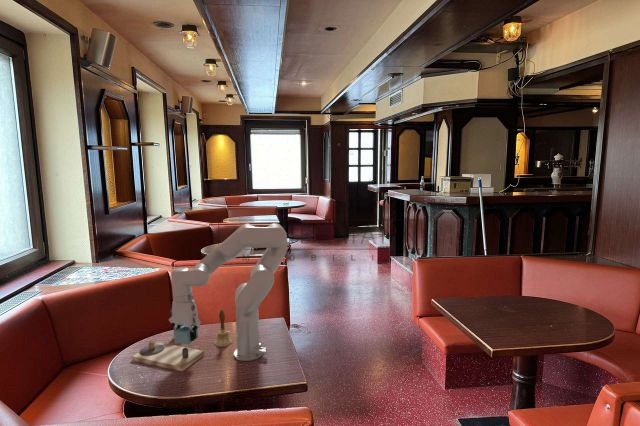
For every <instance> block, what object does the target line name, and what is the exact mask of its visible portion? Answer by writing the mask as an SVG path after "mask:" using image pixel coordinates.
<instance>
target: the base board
mask: <svg viewBox="0 0 640 426" xmlns="http://www.w3.org/2000/svg"><path fill="white" fill-rule="evenodd" d="M203 356H205V351H204V350H201V349H196V348H191V347H187V346H180V345H175V344H170V343H164V342H159V341H155V342H154V341H152V340H151V341H149V343H148V345H146V346H144V347H142V348H141V349H140V350H139V352H136V353H135V354H134V355H132V356H131V361H133V362H137V363H141V364H146V365H150V366H151V365H152V366H157V367H160V368H165V369H169V370H173V371H179V372H183V371H185V370H186V369H187V368H189V367H190V366H192V365H193V364H194V363H196V362H197V361H198V360H200V359H201V358H202V357H203Z"/></svg>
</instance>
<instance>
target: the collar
mask: <svg viewBox="0 0 640 426" xmlns="http://www.w3.org/2000/svg"><path fill="white" fill-rule="evenodd" d="M192 327H193V325H192ZM190 332H191V331H190V328H189V326H186V325H183V326H182V327H180V328H178V329H177V330H175V331H174V330H173V337H174V340H173V341H174V344H181V345H189V344H190V343H191V344H192V343H193V342H194V341H195V340H198V338H199V334H198V329H197V330H196V336H197V338H196V339H195V340H193V341H191V340H190Z"/></svg>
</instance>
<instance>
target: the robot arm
mask: <svg viewBox="0 0 640 426" xmlns="http://www.w3.org/2000/svg"><path fill="white" fill-rule="evenodd" d="M287 238H288V234H287V232H286V230H285V229H284V227H283V226H282V225H281V224H279V223H275V222H274V223H270V224H269V225H268V226H265V227H264V226H262V227H261V226H254V224H251V223H244V224H242V225H241V226H239V227H238V228H237V229H235V231H234V232H233V233H231V235H229V236H228V237H227V238H226V239H225V240H224V241H222V242H221V243H220V244H219V245H218V246H216V247H215V248H214V249H213V250H212V251H210V252H209V253H208V254H207V255H205V256H204V257H203V258H202V259H201V260H200V261H198V262H197V263H196V264H195V265H194V267H193V268H192V269H190V268H189V267H177V268H174V269H172V270H171V272H170V273H171V274H170V275H171V276H170V277H171V287H172V299H173V301H172V304H171V309H172V315H171V316H170V317H169V318H168V321H169V322H170V324H171V326H172V327H173V331H174V330H177V329H178V328H180V327H181V325H186V326H189V328H190V331H191V332H190V340H191V341H192V342H194V341H196V340H197V339H198V338H197V336H196V330H198V329H199V328H200V326H201V325H202V321H201V320H200V319H199V314H198V308H197V304H196V300H195V296H194V295H193V288H192V287H203V286H205V285H207V284H208V282H209V281H210V277H211V275H212V274H213V273H214V272H216V270H217V269H218V268H220V267H221V266H223V265H224V264H226V263H229V262H232V261H234V260H235V259H236V258H237V257H238V256H239V255H241V254H242V252H244V251H245V250H246V249H247V248H250V249H251V248H252V249H254V248H255V249H257V248H258V249H261V248H263V249H264V248H265V251H264V252H263V253H262V256H260V258H259V259H258V260H257V262H256V264H255V265H254V266H253V268H252V269H251V270H250V277H249V280H248V281H247V282H244V283H240V284H239V285H238V287H237V288H236V290H235V293H234V300H235V301H234V303H235V322H236V323H235V325H236V326H235V327H236V349H235V350H234V352H233V358H234V359H236V360H238V361H241V362H250V361H254V360H255V361H256V360H257V359H259V358H261V356H263V355H265V356H267V353H268V350H267V349H268V348H267V347H263V346H262V343H261V342H260V331H259V330H260V328H259V327H260V326H259V325H260V322H259V318H260V317H259V306H260V305H261V304H262V302H263V301H264V300H265V298H266V296H268V294H269V292H270V291H271V289H272V287H273V285H274V283H275V275H274V274H275V273H276V271H277V269H278V268H279V267H280V265H281V263H282V262H283V260H284V258H285V256H286V254H287V252H288V239H287ZM192 326H193V327H192ZM196 338H197V339H196ZM193 340H194V341H193Z"/></svg>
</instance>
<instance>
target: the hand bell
mask: <svg viewBox="0 0 640 426" xmlns="http://www.w3.org/2000/svg"><path fill="white" fill-rule="evenodd" d="M219 311H220V312H219V314H218V317H219V322H220V330H219V331H218V332H217V337H216V339H215V341H214V343H213V344H214V346H215V347H219V348H222V347H223V348H224V347H227V346H228V347H229V346H231V345H232V343H233V339H232V338H231V337H230V336H229V332H228V330H227V329H225V328H226V326H225V321H226V315H225V311H224V309H220V310H219Z"/></svg>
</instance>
